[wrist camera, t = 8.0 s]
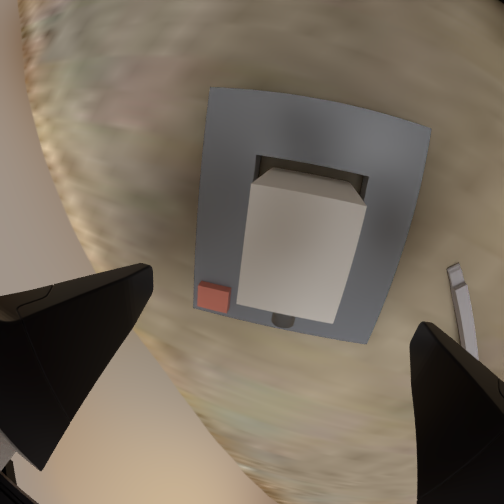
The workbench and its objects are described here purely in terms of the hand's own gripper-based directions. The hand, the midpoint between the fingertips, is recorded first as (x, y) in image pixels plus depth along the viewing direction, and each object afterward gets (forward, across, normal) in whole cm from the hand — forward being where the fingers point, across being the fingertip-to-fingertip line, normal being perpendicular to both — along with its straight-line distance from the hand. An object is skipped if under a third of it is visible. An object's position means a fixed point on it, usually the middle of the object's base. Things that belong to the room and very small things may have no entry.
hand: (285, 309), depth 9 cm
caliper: (+10, -17, +9) cm, 21 cm away
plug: (+9, 0, 0) cm, 9 cm away
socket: (+9, 0, 0) cm, 9 cm away
